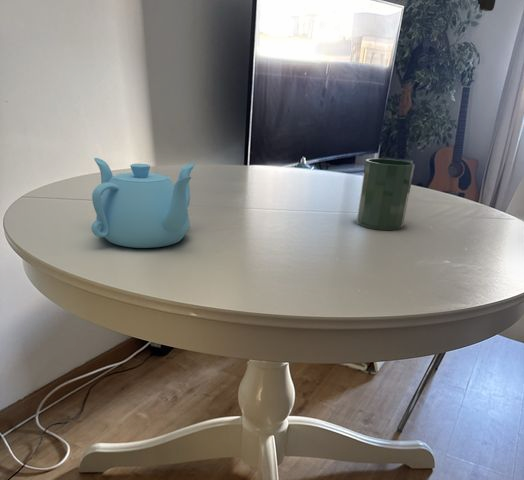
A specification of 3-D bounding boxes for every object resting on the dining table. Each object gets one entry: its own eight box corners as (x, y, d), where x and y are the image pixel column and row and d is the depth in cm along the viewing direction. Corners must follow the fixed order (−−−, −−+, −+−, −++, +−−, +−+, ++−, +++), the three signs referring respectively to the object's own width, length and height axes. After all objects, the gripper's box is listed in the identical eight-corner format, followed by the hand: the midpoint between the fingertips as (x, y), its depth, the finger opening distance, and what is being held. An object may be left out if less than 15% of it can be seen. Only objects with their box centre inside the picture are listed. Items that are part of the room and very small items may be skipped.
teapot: (80, 252, 63) (69, 170, 58) (103, 223, 76) (95, 154, 71) (193, 255, 65) (191, 175, 60) (196, 226, 78) (195, 158, 73)
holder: (376, 217, 90) (386, 157, 85) (411, 227, 85) (424, 164, 80) (347, 221, 86) (356, 159, 81) (382, 232, 80) (394, 166, 75)
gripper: (662, -199, 46) (597, 7, 54) (517, -153, 56) (480, 15, 63) (635, -232, 42) (569, -4, 50) (484, -176, 51) (448, 7, 59)
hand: (519, 7), depth 56 cm, fingers open, 8 cm apart
